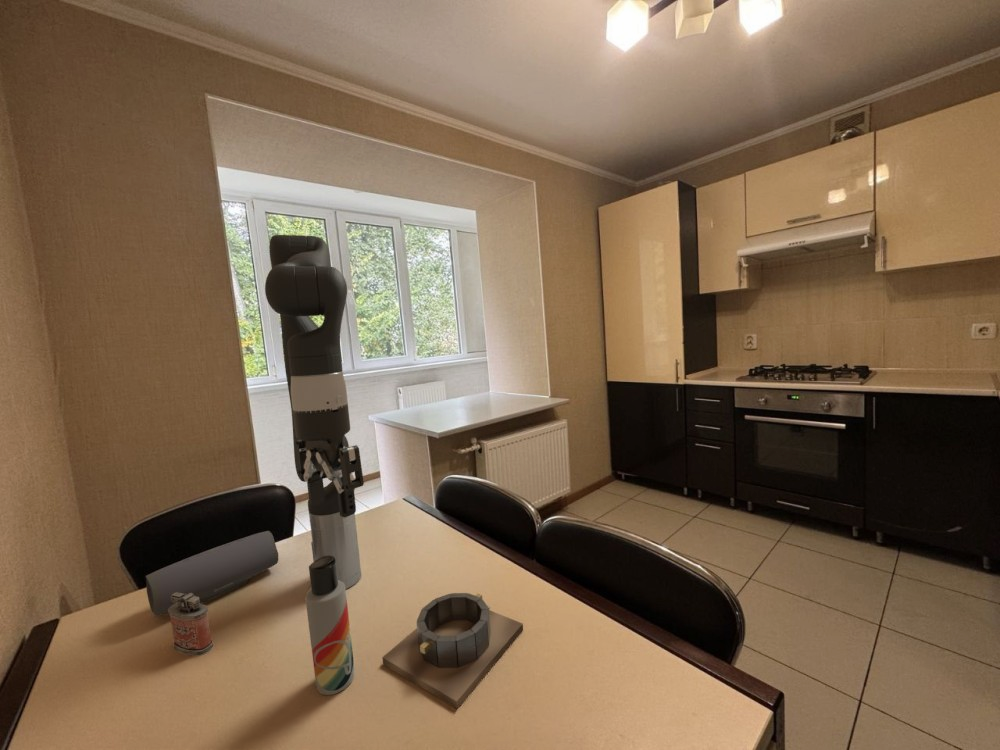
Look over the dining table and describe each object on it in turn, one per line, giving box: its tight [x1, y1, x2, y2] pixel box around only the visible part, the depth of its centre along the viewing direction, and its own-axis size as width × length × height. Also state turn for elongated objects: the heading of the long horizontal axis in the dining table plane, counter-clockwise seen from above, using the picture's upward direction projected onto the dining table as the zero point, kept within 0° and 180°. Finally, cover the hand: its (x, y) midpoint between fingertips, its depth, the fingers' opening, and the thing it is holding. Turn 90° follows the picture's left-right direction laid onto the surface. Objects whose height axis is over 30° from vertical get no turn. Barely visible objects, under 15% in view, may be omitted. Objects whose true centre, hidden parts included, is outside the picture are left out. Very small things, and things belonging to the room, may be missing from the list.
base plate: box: [382, 605, 524, 710], centre depth 71 cm, size 16×19×1 cm
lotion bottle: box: [305, 556, 355, 696], centre depth 64 cm, size 6×6×20 cm
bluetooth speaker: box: [145, 530, 279, 618], centre depth 91 cm, size 23×9×10 cm, turn 139°
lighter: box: [168, 592, 214, 657], centre depth 74 cm, size 8×3×10 cm, turn 71°
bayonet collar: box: [416, 592, 491, 668], centre depth 70 cm, size 12×15×4 cm
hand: (332, 508), depth 63 cm, fingers open, 8 cm apart
